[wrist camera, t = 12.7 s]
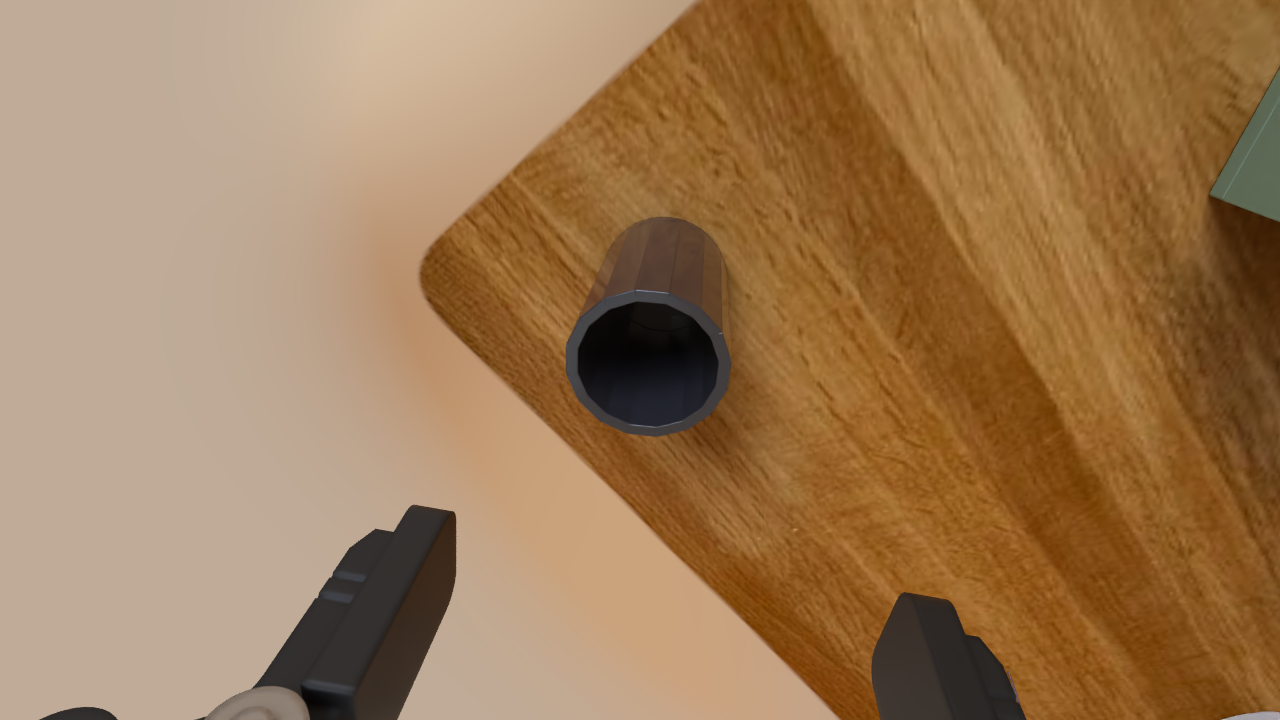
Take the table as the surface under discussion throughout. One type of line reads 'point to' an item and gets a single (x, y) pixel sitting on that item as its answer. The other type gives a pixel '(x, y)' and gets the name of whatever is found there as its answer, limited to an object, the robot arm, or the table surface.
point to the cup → (654, 331)
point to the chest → (1256, 161)
